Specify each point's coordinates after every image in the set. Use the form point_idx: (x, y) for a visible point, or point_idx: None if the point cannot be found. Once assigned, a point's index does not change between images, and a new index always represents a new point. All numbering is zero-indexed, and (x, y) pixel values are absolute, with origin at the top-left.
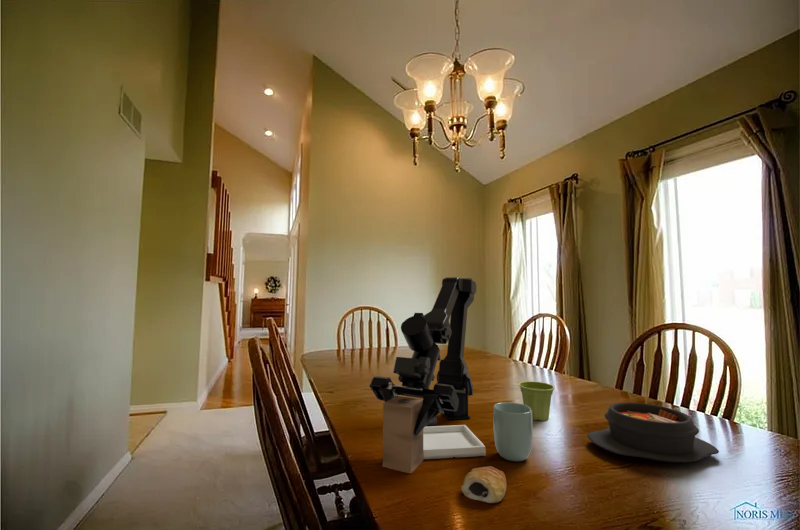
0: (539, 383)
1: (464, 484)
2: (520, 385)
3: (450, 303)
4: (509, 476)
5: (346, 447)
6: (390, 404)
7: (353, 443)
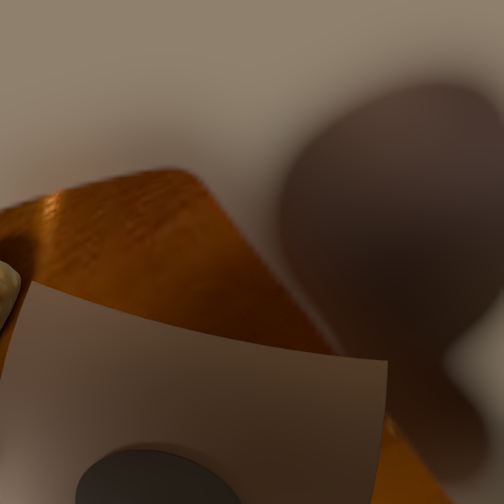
0: None
1: (8, 267)
2: None
3: None
4: None
5: (420, 463)
6: (294, 352)
7: (412, 496)
